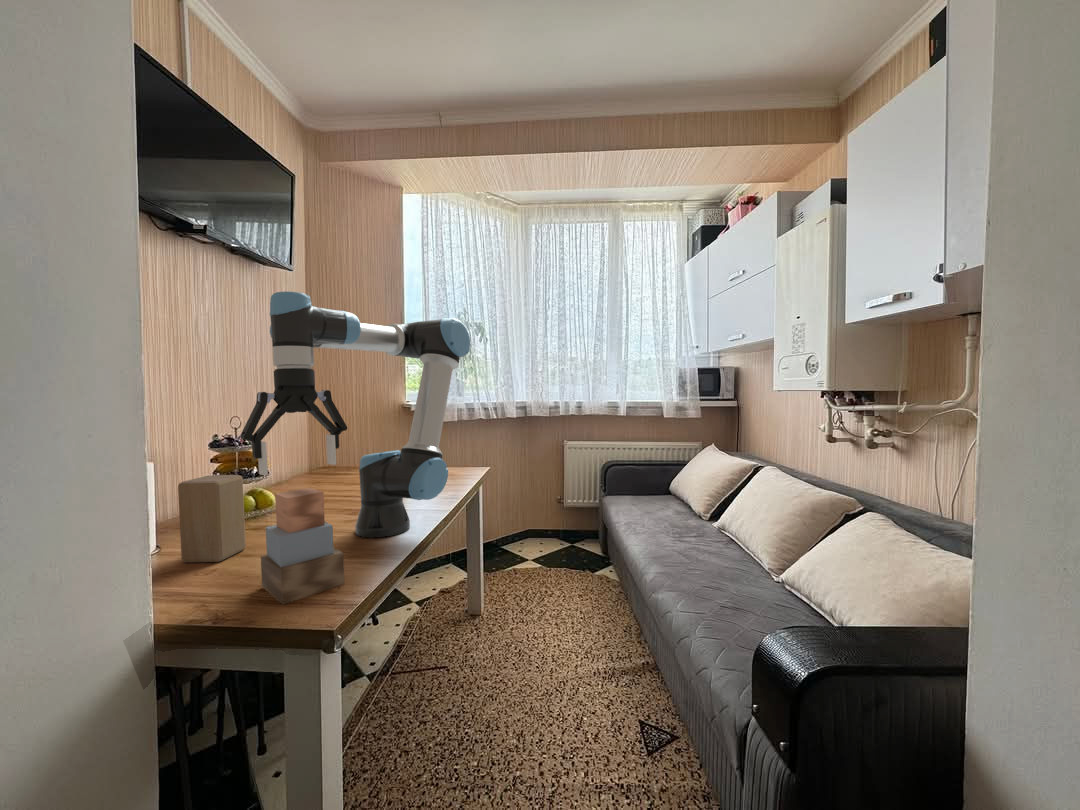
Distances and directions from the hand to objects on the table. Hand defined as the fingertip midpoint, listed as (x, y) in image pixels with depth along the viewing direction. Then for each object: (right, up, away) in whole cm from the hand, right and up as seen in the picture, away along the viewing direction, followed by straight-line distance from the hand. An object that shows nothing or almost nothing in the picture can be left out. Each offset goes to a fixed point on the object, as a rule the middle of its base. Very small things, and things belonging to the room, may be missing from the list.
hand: (299, 469), depth 95 cm
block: (-32, -25, +20) cm, 45 cm away
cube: (0, -12, 0) cm, 12 cm away
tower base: (+1, -25, 0) cm, 25 cm away
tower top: (0, -18, 0) cm, 18 cm away
